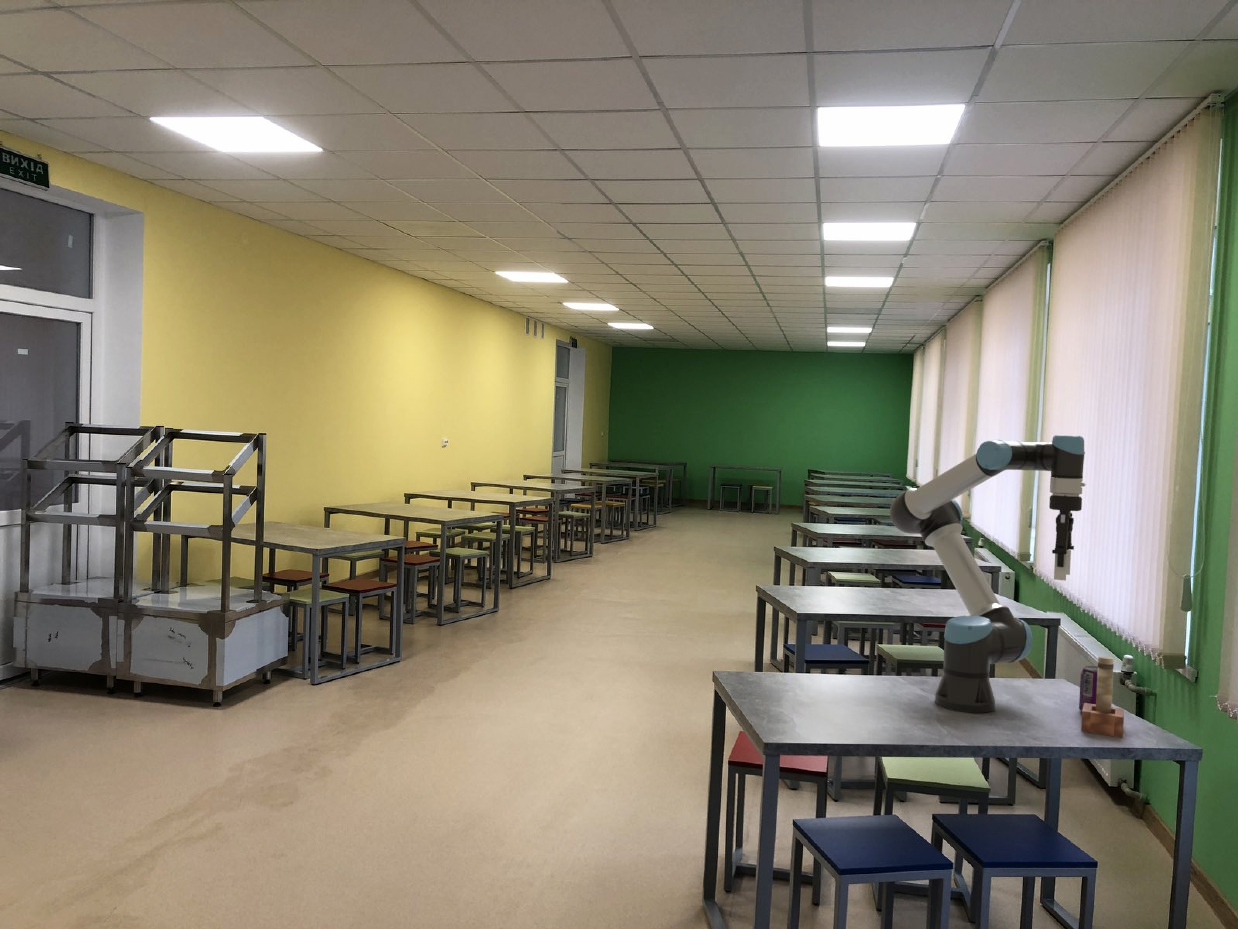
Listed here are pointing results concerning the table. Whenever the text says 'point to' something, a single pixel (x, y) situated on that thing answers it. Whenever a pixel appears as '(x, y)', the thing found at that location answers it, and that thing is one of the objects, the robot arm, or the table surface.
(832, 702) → the table surface
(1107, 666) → the wooden dowel rod
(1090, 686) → the beverage can
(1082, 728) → the brown hollow square block
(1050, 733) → the table surface
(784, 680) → the table surface
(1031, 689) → the table surface
